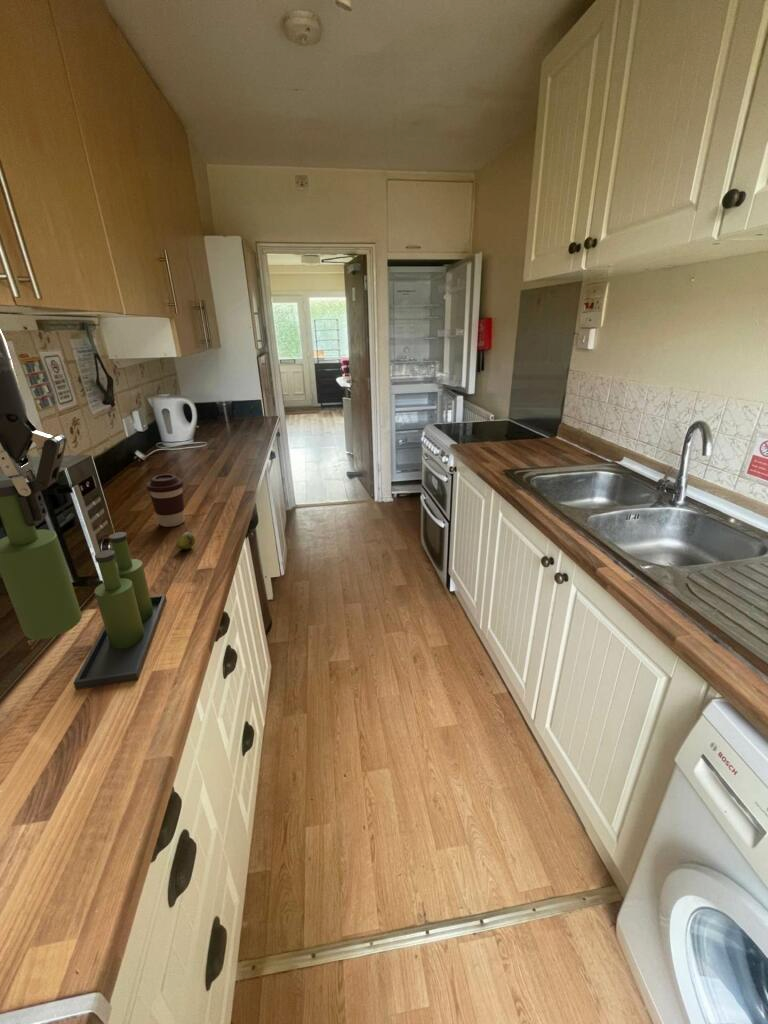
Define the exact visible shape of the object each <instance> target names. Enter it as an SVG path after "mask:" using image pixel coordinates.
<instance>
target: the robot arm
mask: <svg viewBox="0 0 768 1024" xmlns="http://www.w3.org/2000/svg"><path fill="white" fill-rule="evenodd" d="M26 407H27V406H26V403H25V400H24V398H23V393H22V390H21V387H20V384H19V381H18V376H17V374H16V370H15V367H14V364H13V360H12V356H11V353H10V350H9V347H8V344H7V342H6V338H5V336H4V334H3V332H2V330H1V329H0V468H1V470H2V472H3V474H4V476H5V477H6V478H8V479H9V480H12V482H13V484H14V486H15V487H16V489H17V491H18V493H19V494H20V495H21V496H19V497H18V498H19V501H20V504H21V506H22V509H23V512H24V515H25V518H26V521H27V524H28V526H35V527H36V526H39V525H40V524H41V523H42V522H44V519H45V517H47V515H48V510H47V507H46V504H45V500H44V497H43V493H42V491H43V490H46V489H48V488H49V487H50V486H52V485H53V484H54V483H56V482H57V481H58V478H59V475H60V471H61V466H62V463H63V458H64V454H65V450H66V446H67V441H68V440H67V437H66V436H64V434H59V433H58V434H56V435H52V434H49V433H45V432H42V431H39V430H37V427H36V426H35V424H34V423H33V422H32V421H31V420H30V419H29V417H28V414H27V408H26ZM33 443H34V444H35V445H36V451H37V453H38V454H40V459H39V464H38V467H37V472H36V471H35V464H34V461H33V459H32V457H31V456H30V453H29V450H30V448H31V447H32V444H33ZM3 527H4V525H3V522H2V520H1V517H0V529H2V528H3Z"/></svg>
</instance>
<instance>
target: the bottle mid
mask: <svg viewBox="0 0 768 1024" xmlns="http://www.w3.org/2000/svg"><path fill="white" fill-rule="evenodd" d="M94 559H95V562H96V563H97V565H98V569H99V572H100V576H101V579H102V583H100V584H98V585H97V586H96V587H95V589H94V596H95V599H96V602H97V606H98V609H99V612H100V615H101V618H102V621H103V622H102V623H103V627H104V626H105V629H106V633H107V636H108V640H109V643H110V646H111V647H113V648H115V649H124V648H128V647H131V646H134V645H136V644H137V643H139V642H140V641H141V640H142V639H143V638H144V635H145V632H144V628H143V624H142V621H141V617H140V613H139V609H138V605H137V601H136V597H135V593H134V589H133V585H132V581H131V580H129V579H125V578H120V577H119V573H118V569H117V566H116V563H117V562H116V559H115V553H114V551H113V549H105V550H101V551H99V552H96V553H95V554H94Z"/></svg>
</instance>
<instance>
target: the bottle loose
mask: <svg viewBox="0 0 768 1024" xmlns="http://www.w3.org/2000/svg"><path fill="white" fill-rule="evenodd" d="M19 496H21V495H20V494H19V493H18V491H17V489H16V487H15V486H14V484H13V482H12V480H11V479H4V480H3V479H2V480H0V517H1V520H2V522H3V525H4V526H3V527H4V531H5V533H6V536H4V537H2V538H0V575H1V578H2V581H3V583H4V586H5V588H6V591H7V593H8V596H9V598H10V602H11V604H12V606H13V610H14V612H15V615H16V617H17V619H18V623H19V625H20V627H21V630H22V632H23V635H24V637H26V638H28V639H30V640H45V639H51V638H55V637H57V636H60V635H62V634H64V633H67V632H69V631H70V630H72V629H73V628H75V627H76V626H77V625H78V624H79V623H80V622H81V620H82V619H83V614H82V611H81V608H80V605H79V601H78V599H77V595H76V592H75V589H74V586H73V583H72V580H71V576H70V573H69V570H68V567H67V563H66V560H65V557H64V554H63V551H62V548H61V544H60V541H59V538H58V535H57V533H56V531H54V530H50V529H44V528H42V529H41V528H40V529H37V528H36V526H28V524H27V521H26V518H25V515H24V512H23V509H22V506H21V504H20V501H19V498H18V497H19Z"/></svg>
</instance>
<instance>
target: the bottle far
mask: <svg viewBox="0 0 768 1024" xmlns="http://www.w3.org/2000/svg"><path fill="white" fill-rule="evenodd" d="M108 540H109V543H111V547H112V550H113V551H114V553H115V562H116V566H117V569H118V573H119V577H120V578H125V579H129V580H131V581H132V585H133V589H134V593H135V597H136V601H137V605H138V609H139V613H140V617H141V621H142V622H143V621H145V620H147V619H148V618H150V617H151V616H152V614H153V612H154V611H153V606H152V602H151V598H150V596H151V595H150V590H149V586H148V582H147V581H148V580H147V577H146V573H145V569H144V564H143V562H142V560H140V559H137V558H136V559H135V558H132V555H131V552H130V548H129V544H128V534H127V532H125V531H118V532H114V533H113V532H112V533H110V535H109V536H108Z"/></svg>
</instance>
